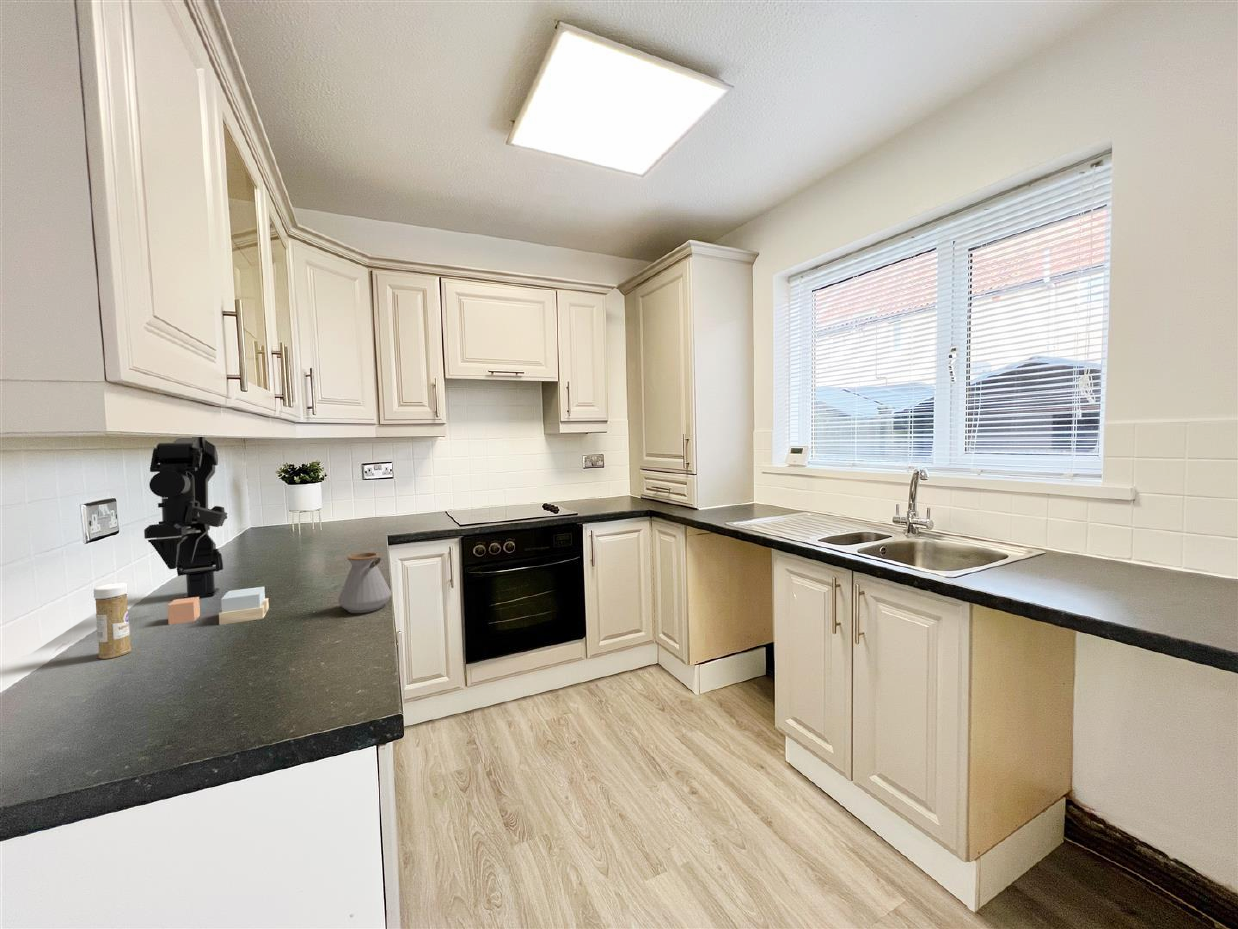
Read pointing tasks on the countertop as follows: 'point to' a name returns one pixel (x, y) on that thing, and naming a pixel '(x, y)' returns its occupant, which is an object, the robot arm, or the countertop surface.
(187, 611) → the terracotta cube
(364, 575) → the coffee pot
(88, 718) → the countertop surface
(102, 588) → the sprinkles bottle
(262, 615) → the oak base slab
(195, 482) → the robot arm
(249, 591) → the grey-blue top slab
